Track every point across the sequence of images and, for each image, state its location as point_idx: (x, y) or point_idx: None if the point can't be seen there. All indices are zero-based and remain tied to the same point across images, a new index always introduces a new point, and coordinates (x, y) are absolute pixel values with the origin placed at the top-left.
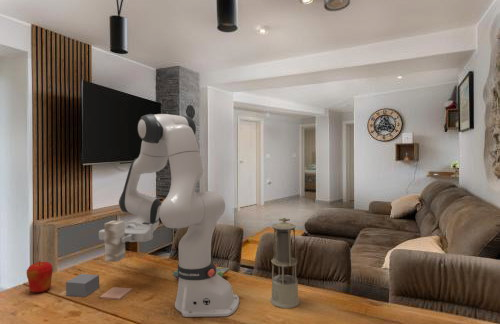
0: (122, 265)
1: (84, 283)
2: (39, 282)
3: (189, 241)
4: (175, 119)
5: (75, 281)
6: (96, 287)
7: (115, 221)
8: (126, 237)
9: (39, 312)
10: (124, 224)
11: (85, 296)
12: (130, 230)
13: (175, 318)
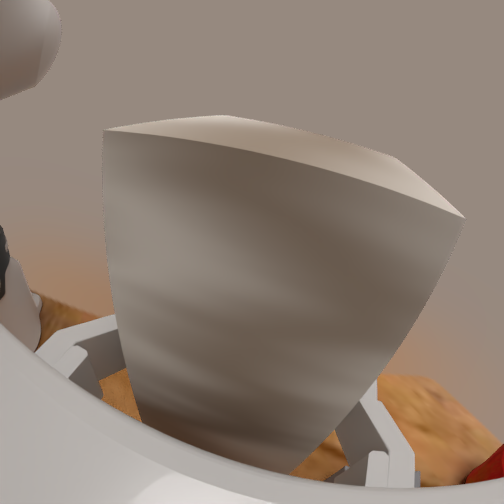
0: None
1: (348, 467)
2: (485, 462)
3: None
4: None
5: None
6: None
7: (316, 152)
8: (112, 321)
9: (390, 399)
10: (105, 210)
11: (324, 480)
12: (24, 483)
13: (57, 304)
